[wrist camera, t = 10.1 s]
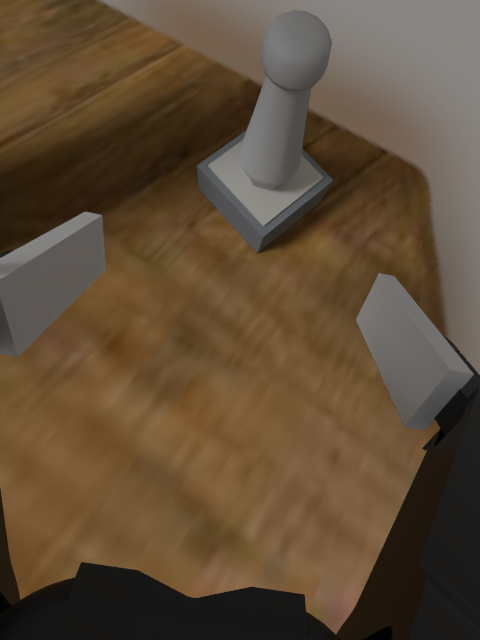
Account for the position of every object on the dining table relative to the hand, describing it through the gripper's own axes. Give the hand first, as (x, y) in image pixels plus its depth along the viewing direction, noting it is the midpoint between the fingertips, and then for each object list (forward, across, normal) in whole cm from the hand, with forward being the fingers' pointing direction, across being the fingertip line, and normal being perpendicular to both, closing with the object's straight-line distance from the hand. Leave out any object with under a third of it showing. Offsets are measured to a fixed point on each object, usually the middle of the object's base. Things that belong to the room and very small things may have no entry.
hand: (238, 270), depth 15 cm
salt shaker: (+21, +1, +2) cm, 21 cm away
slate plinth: (+24, +1, -1) cm, 24 cm away
